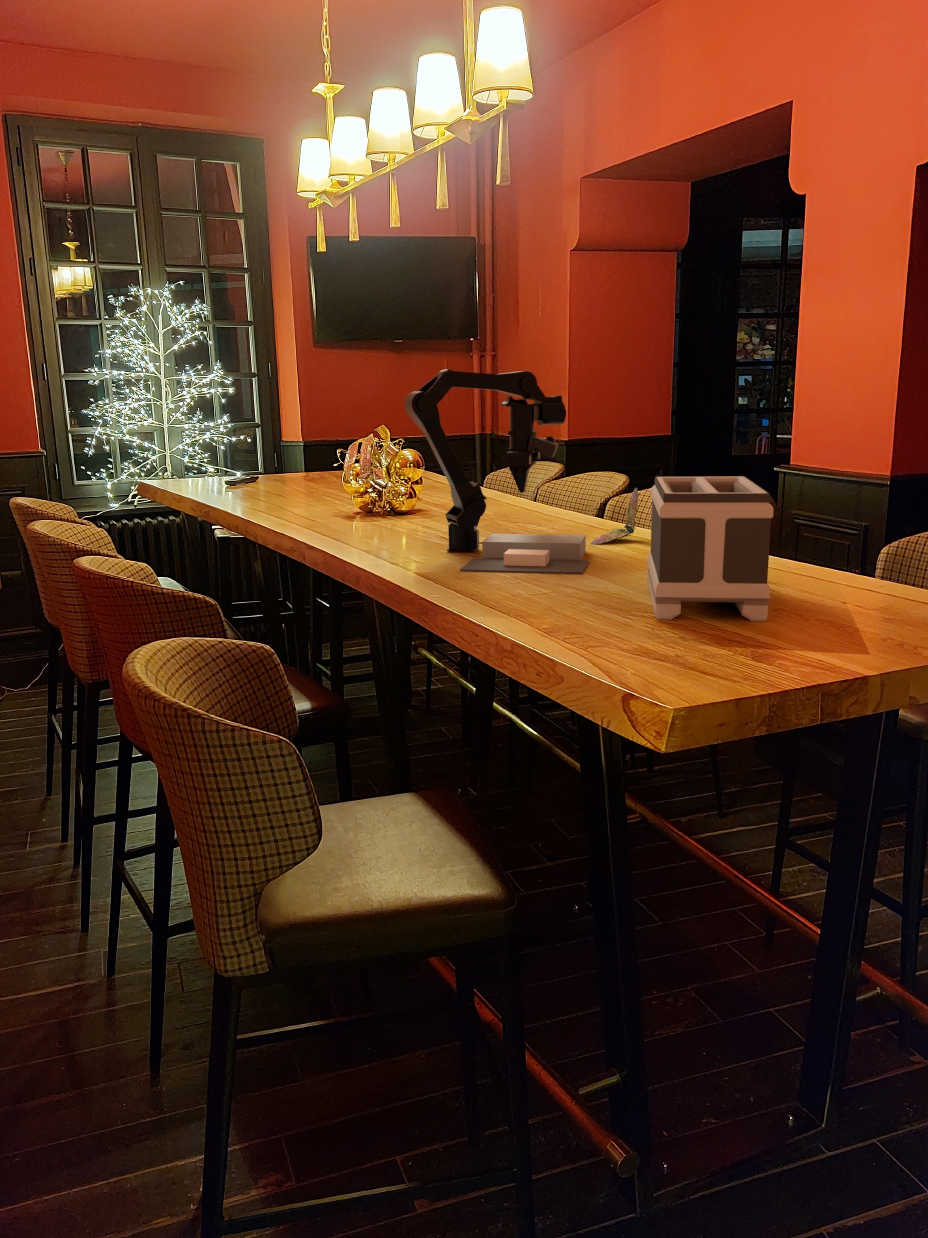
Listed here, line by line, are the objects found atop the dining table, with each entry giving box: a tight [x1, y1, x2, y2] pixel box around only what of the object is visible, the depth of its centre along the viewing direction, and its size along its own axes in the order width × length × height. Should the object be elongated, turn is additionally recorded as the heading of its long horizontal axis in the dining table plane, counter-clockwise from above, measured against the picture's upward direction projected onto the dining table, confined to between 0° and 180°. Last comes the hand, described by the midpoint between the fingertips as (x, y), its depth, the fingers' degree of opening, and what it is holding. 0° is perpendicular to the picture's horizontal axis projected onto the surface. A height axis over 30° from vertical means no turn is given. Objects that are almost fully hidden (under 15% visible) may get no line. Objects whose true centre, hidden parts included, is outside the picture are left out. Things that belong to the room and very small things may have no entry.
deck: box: [481, 533, 587, 560], centre depth 219 cm, size 22×12×4 cm, turn 77°
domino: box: [504, 549, 549, 566], centre depth 207 cm, size 9×6×3 cm, turn 77°
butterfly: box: [590, 487, 642, 546], centre depth 236 cm, size 17×10×10 cm
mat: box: [459, 557, 590, 575], centre depth 206 cm, size 26×14×1 cm, turn 77°
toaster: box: [647, 475, 775, 622], centre depth 171 cm, size 18×34×21 cm, turn 172°
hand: (522, 492), depth 229 cm, fingers closed
